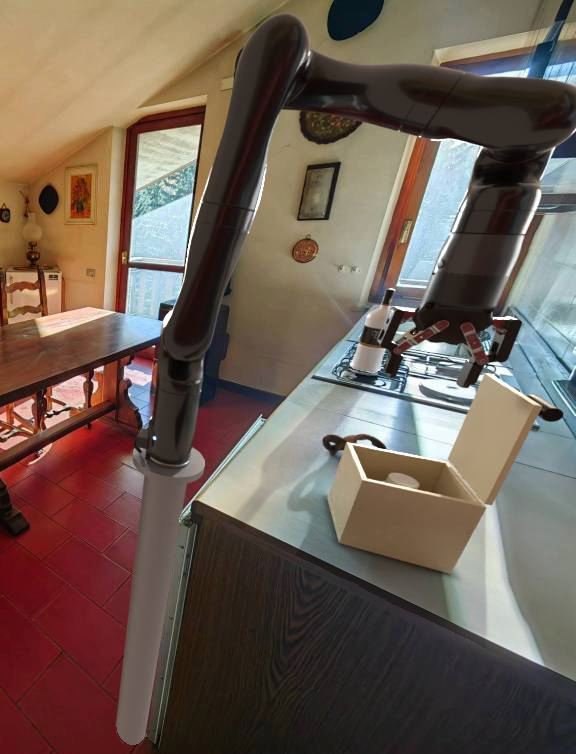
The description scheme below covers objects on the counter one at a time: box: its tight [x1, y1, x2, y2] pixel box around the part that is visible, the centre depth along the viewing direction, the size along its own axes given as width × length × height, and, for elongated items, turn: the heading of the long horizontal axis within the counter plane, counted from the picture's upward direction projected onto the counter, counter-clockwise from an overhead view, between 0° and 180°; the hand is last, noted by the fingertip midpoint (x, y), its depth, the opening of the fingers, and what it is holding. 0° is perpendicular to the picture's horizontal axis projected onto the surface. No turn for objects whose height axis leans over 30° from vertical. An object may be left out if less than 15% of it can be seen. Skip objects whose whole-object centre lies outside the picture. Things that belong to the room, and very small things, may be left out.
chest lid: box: [447, 373, 565, 506], centre depth 56 cm, size 15×13×5 cm
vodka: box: [348, 288, 396, 377], centre depth 136 cm, size 9×9×30 cm
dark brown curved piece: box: [321, 433, 389, 458], centre depth 86 cm, size 12×10×8 cm
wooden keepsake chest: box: [327, 442, 487, 575], centre depth 65 cm, size 15×13×13 cm
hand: (424, 381), depth 59 cm, fingers open, 8 cm apart
